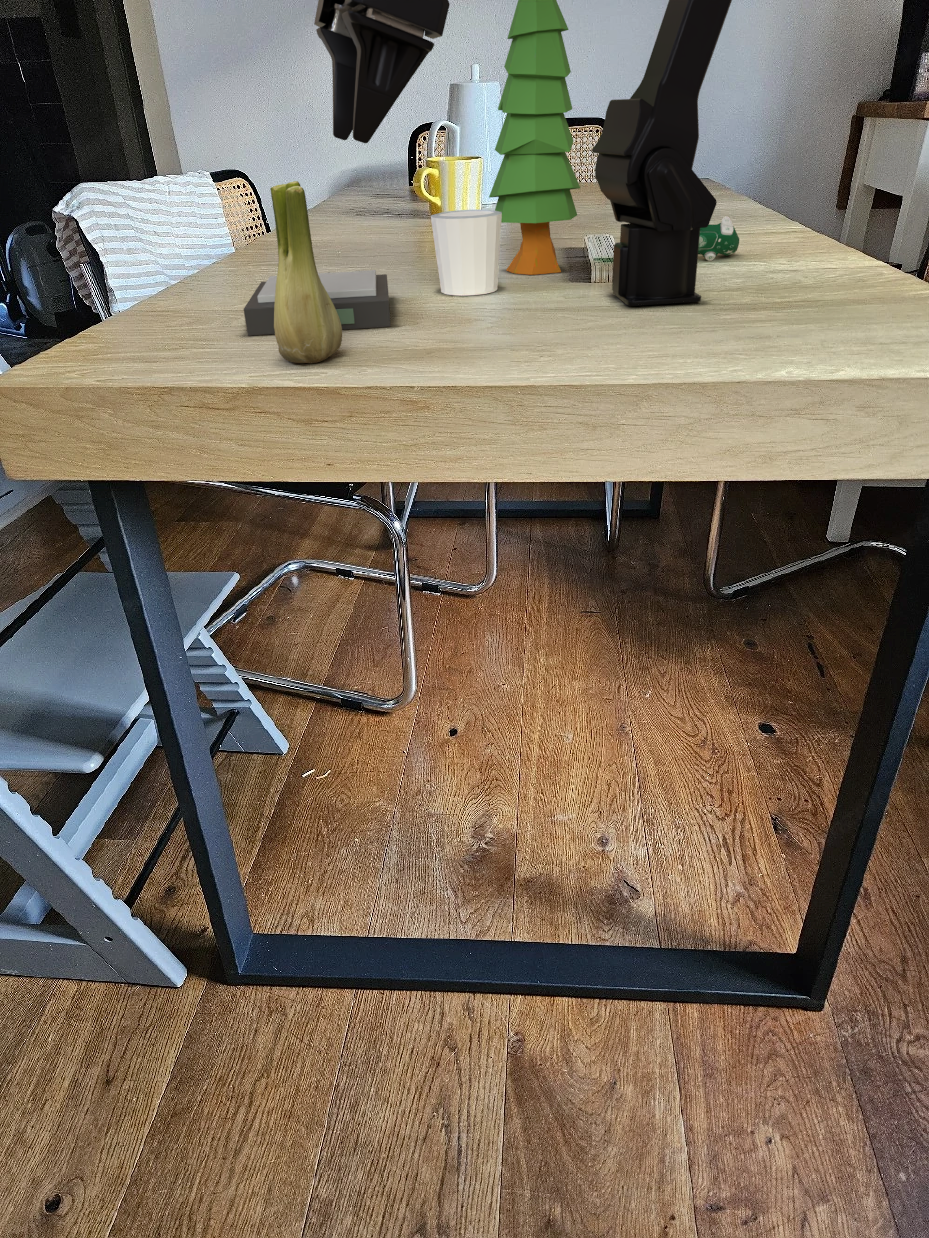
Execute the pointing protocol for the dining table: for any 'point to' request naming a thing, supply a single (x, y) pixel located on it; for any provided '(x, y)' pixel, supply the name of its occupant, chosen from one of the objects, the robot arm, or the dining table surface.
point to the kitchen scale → (351, 293)
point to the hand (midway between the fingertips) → (349, 140)
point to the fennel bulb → (300, 285)
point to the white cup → (467, 250)
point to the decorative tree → (535, 135)
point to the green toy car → (718, 239)
